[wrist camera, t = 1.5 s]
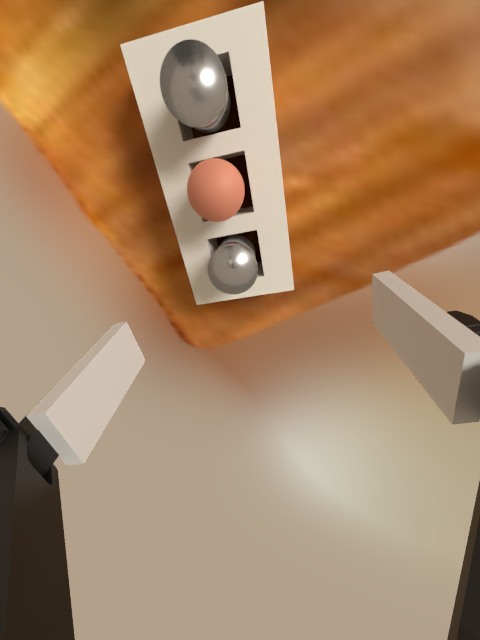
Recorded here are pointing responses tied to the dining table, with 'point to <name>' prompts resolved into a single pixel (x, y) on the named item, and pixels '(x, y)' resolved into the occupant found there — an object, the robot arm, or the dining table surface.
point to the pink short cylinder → (215, 189)
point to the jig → (219, 147)
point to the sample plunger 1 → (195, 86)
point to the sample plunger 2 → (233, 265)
